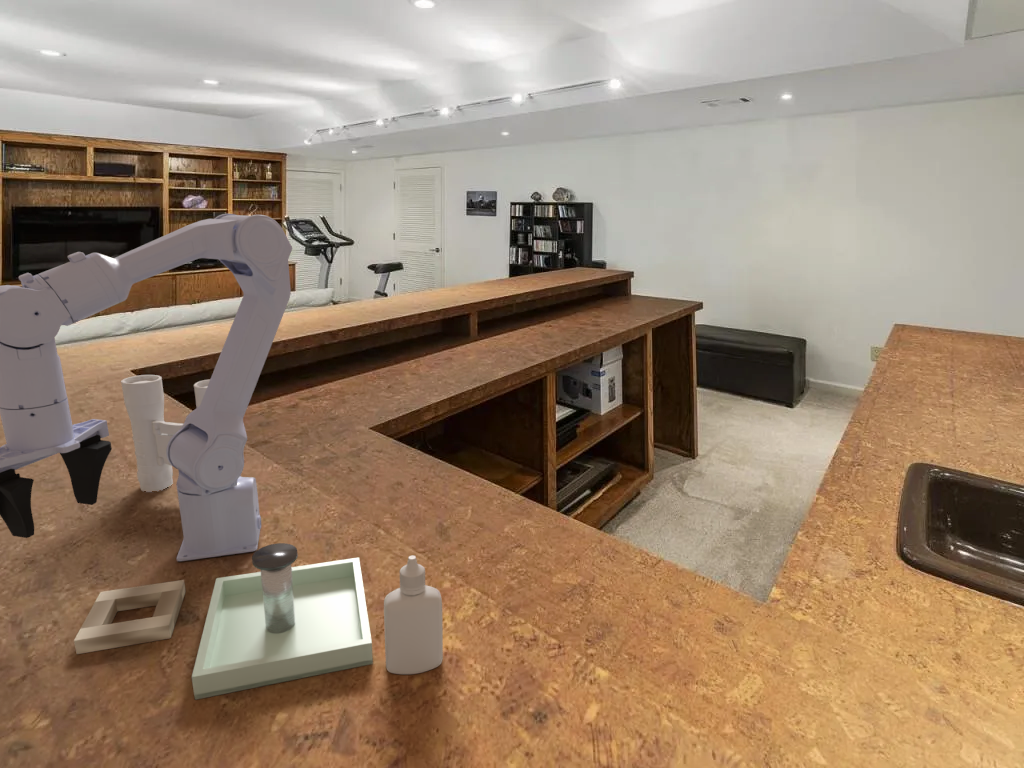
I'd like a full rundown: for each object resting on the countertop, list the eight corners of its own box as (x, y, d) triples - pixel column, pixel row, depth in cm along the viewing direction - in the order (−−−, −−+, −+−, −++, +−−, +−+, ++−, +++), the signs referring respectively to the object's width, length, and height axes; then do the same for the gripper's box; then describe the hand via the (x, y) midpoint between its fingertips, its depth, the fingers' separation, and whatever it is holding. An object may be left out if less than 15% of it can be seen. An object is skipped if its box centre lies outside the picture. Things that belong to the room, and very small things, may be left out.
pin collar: (185, 591, 70) (184, 579, 70) (170, 638, 62) (168, 625, 62) (102, 604, 67) (100, 591, 67) (76, 654, 60) (73, 640, 59)
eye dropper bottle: (398, 642, 63) (395, 541, 59) (448, 653, 61) (448, 550, 58) (378, 671, 58) (374, 564, 55) (431, 684, 57) (430, 575, 54)
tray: (359, 575, 74) (359, 557, 73) (372, 663, 59) (371, 642, 59) (218, 597, 69) (216, 578, 68) (194, 699, 55) (191, 677, 54)
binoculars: (129, 492, 94) (111, 382, 89) (152, 477, 100) (137, 373, 95) (232, 499, 93) (220, 388, 88) (250, 484, 98) (240, 379, 93)
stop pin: (302, 608, 67) (297, 540, 65) (301, 633, 63) (296, 562, 60) (260, 615, 65) (254, 546, 63) (256, 641, 61) (250, 568, 59)
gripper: (-7, 427, 55) (22, 557, 58) (123, 386, 69) (139, 494, 72) (-67, 420, 56) (-36, 548, 60) (72, 381, 70) (90, 487, 74)
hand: (56, 518), depth 66 cm, fingers open, 7 cm apart
